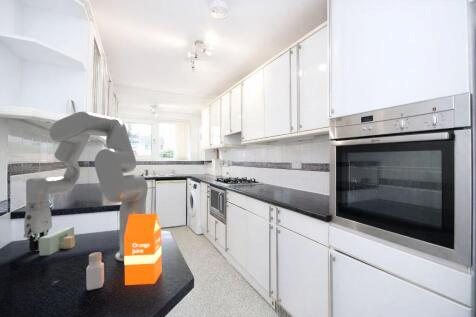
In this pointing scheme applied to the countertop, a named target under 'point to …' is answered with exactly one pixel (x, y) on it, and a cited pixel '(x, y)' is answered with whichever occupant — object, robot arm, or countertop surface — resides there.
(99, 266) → the salt shaker
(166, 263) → the countertop surface
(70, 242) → the plug
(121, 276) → the countertop surface
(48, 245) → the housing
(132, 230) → the orange juice
